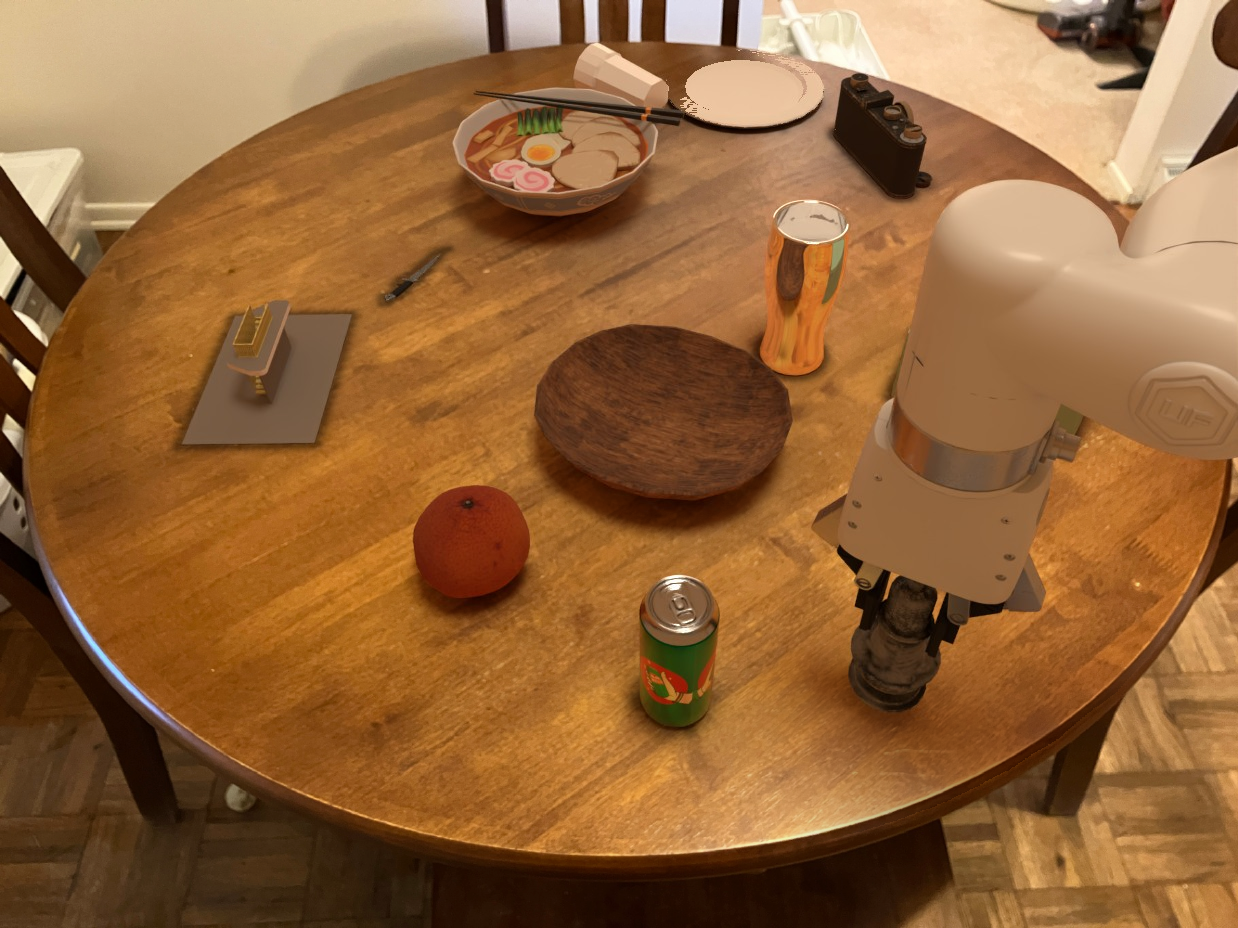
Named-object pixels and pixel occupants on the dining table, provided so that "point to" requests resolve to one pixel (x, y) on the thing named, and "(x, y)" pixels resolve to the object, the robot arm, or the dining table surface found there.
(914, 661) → the chess piece
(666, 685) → the soda can
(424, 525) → the fruit
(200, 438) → the platform
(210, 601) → the dining table surface
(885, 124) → the camera
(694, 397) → the bowl
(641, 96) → the cup
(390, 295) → the knife
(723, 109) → the plate
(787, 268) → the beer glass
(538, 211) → the ramen bowl
